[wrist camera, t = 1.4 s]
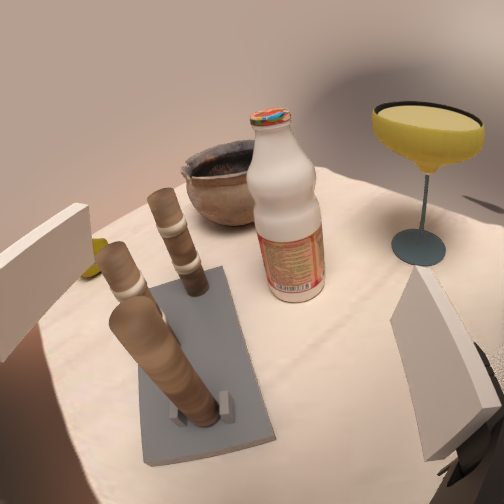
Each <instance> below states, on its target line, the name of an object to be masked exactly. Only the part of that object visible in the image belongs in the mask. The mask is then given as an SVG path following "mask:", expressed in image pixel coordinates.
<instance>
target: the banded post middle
mask: <svg viewBox="0 0 504 504" xmlns="http://www.w3.org/2000/svg"><path fill="white" fill-rule="evenodd" d="M95 262H96V264H97V266H98V267H99V269H100V271H101V272H102V274H103V276H104V277H105V279H106V281H107V282H108V284H109V286H110V289H111V291H112V293H113V294H114V296H115V297H116V299H117V300H118V301H119V302H120V303H122V302H123V301H125V300H127V299H129V298H131V297H135V296H145V297H148V298H150V299H151V300H152V301H153V303H154V305H155V306H156V308H157V310H158V312H159V313H160V315H161V317H162V318H163V320H164V322H165V323H166V325H167V327H168V328H169V330H170V332H171V333H172V335H173V337H174V338H175V340H176V341H177V343H178V345H179V346H180V348H181V344H180V342H179V340H178V338H177V337H176V335H175V333H174V332H173V330H172V328H171V327H170V325H169V323H168V320H167V318H166V316H165V314H164V313H163V311H162V310H161V309H160V308H159V306H158V304H157V303H156V301H155V299H154V297H153V296H152V294H151V292H150V290H149V288H148V286H147V282H146V280H145V278H144V277H143V275H142V273H141V271H140V270H139V269H138V268H137V266H136V264H135V262H134V260H133V258H132V256H131V254H130V252H129V250H128V248H127V246H126V244H125V243H124V242H121V241H118V242H113V243H111V244H108V245H107V246H105V247H104V248H102V249H101V250H100V251H99V252H98V253H97V255H96V257H95Z"/></svg>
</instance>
